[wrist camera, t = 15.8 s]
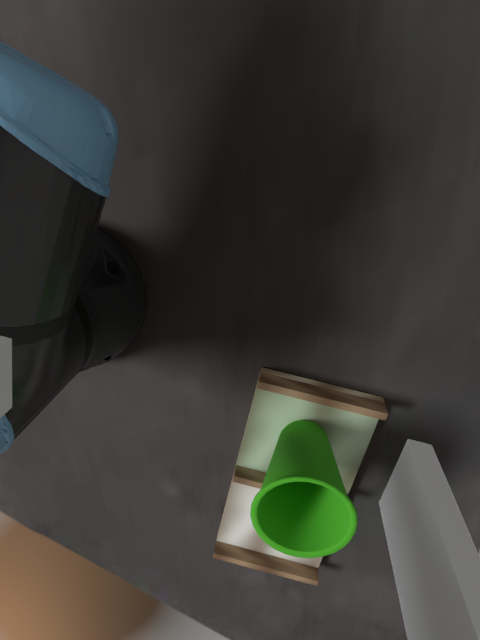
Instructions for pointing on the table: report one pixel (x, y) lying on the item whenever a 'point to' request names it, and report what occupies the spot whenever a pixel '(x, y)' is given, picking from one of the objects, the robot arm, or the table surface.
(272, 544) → the cup
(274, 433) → the wooden divided tray
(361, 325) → the table surface
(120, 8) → the table surface
